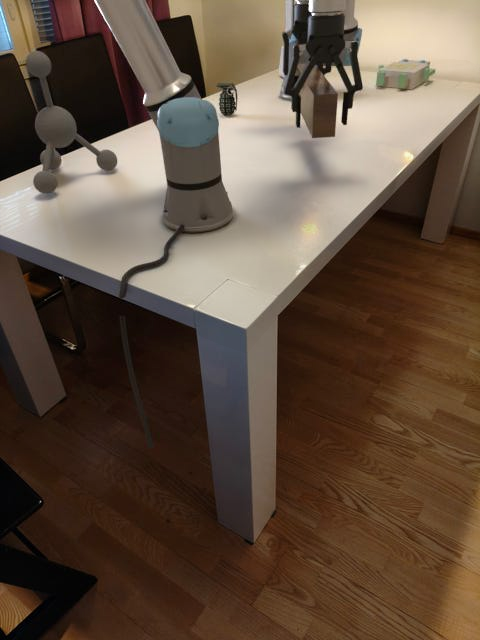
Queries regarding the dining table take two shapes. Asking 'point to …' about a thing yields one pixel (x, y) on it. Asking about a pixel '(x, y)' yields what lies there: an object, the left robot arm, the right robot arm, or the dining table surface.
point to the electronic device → (288, 26)
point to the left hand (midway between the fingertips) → (320, 124)
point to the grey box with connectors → (404, 74)
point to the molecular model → (57, 130)
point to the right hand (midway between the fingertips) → (305, 101)
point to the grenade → (227, 99)
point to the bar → (318, 103)
